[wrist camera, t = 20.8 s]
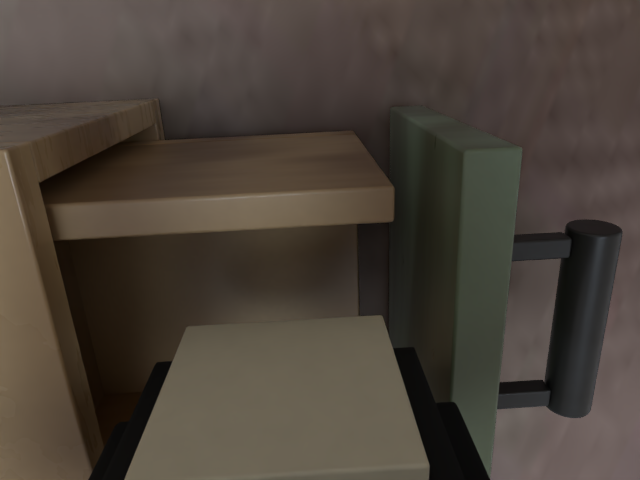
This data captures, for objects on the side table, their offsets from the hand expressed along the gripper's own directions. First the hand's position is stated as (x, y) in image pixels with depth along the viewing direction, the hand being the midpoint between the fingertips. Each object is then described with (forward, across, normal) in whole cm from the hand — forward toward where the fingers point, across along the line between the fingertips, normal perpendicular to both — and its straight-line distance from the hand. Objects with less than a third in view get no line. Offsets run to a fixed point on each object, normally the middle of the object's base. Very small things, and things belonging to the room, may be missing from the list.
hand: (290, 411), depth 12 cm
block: (0, 0, 0) cm, 0 cm away
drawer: (+8, 0, 0) cm, 8 cm away
